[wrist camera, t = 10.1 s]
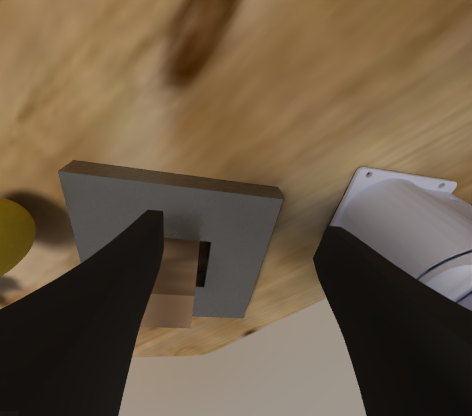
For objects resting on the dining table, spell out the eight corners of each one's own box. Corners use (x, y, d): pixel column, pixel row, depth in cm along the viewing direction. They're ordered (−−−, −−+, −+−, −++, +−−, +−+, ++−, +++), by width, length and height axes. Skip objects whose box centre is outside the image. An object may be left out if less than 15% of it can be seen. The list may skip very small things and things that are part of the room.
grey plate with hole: (277, 187, 20) (283, 199, 18) (241, 302, 28) (243, 318, 26) (73, 160, 17) (57, 171, 16) (101, 295, 26) (93, 311, 24)
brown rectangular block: (200, 232, 22) (194, 296, 16) (197, 262, 24) (190, 328, 18) (157, 228, 21) (133, 292, 15) (157, 259, 23) (136, 326, 17)
